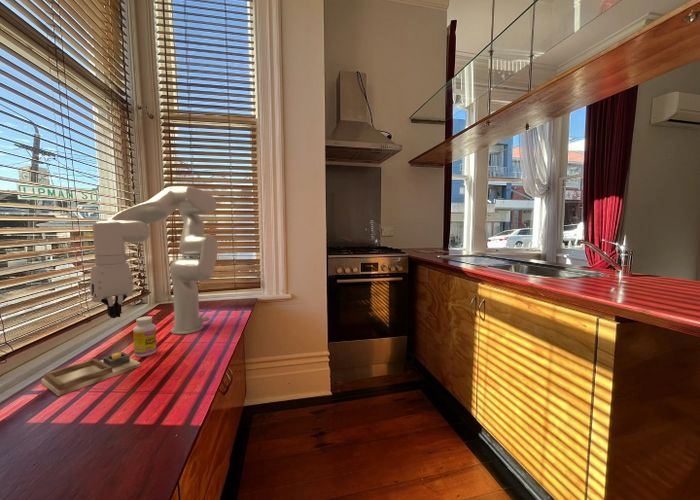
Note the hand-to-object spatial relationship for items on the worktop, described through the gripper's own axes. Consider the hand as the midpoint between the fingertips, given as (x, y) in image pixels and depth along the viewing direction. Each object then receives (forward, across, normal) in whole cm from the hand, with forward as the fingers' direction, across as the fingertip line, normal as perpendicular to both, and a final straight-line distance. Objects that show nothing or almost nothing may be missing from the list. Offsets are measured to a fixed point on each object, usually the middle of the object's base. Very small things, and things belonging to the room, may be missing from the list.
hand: (114, 316), depth 96 cm
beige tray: (+16, +6, 0) cm, 18 cm away
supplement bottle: (+17, -10, -3) cm, 20 cm away
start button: (+15, 0, 0) cm, 15 cm away
